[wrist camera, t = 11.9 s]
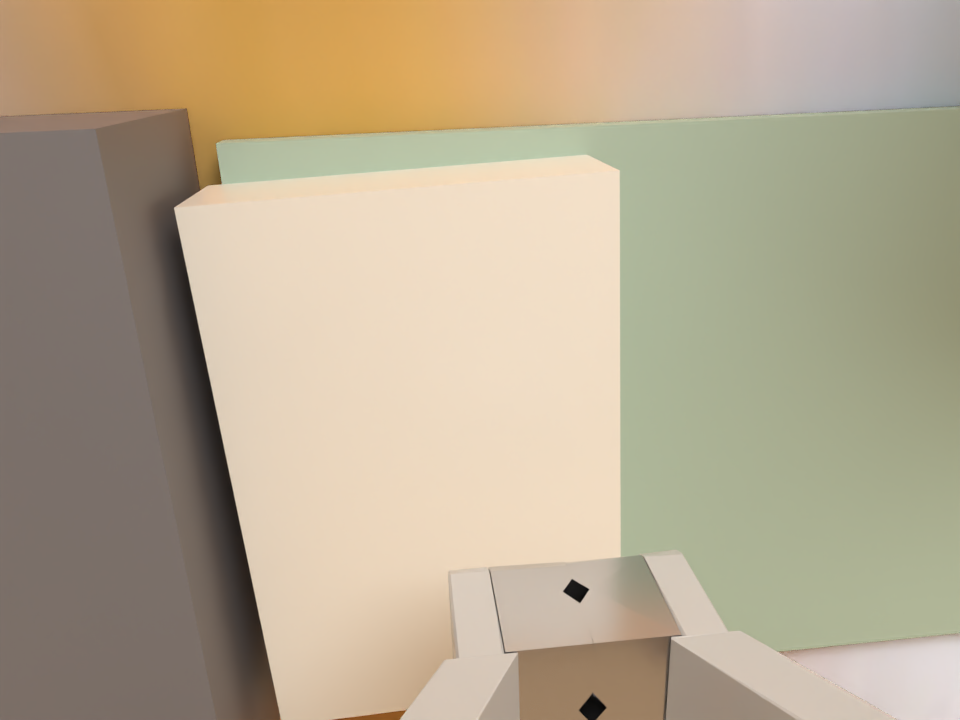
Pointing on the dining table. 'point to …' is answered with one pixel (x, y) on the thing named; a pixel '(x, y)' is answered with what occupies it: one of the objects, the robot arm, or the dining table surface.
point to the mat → (764, 349)
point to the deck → (113, 440)
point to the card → (407, 400)
